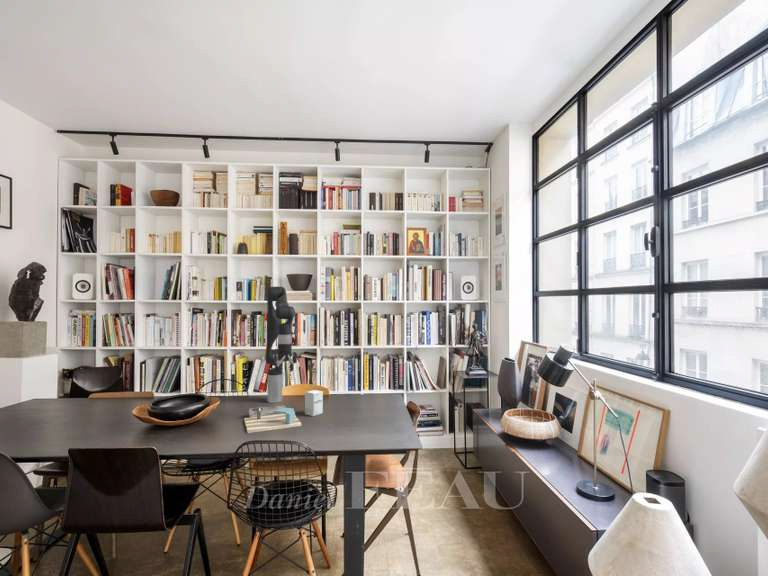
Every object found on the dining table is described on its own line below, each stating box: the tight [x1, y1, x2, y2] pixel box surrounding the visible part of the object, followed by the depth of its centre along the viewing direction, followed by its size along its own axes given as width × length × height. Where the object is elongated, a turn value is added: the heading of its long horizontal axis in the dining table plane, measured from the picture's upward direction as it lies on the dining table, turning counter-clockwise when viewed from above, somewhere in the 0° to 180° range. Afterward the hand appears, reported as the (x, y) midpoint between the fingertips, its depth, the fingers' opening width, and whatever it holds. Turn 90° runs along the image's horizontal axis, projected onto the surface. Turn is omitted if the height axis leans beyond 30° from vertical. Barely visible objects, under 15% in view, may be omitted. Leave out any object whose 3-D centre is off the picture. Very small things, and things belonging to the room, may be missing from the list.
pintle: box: [256, 406, 262, 419], centre depth 202 cm, size 2×2×8 cm
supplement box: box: [304, 389, 324, 417], centre depth 216 cm, size 7×7×13 cm
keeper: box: [274, 407, 296, 424], centre depth 197 cm, size 9×7×7 cm
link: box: [248, 405, 287, 418], centre depth 213 cm, size 19×8×4 cm, turn 114°
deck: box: [243, 414, 302, 434], centre depth 199 cm, size 22×26×1 cm
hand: (284, 372), depth 208 cm, fingers open, 8 cm apart
